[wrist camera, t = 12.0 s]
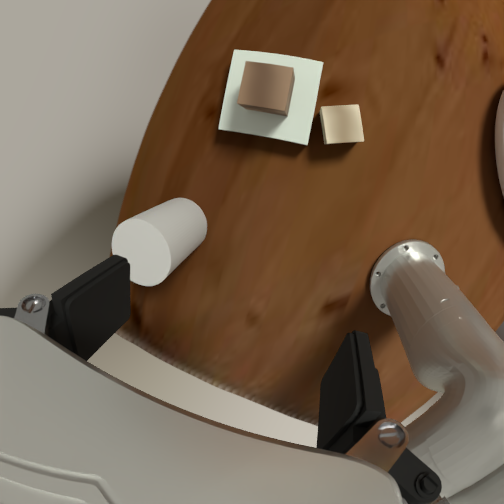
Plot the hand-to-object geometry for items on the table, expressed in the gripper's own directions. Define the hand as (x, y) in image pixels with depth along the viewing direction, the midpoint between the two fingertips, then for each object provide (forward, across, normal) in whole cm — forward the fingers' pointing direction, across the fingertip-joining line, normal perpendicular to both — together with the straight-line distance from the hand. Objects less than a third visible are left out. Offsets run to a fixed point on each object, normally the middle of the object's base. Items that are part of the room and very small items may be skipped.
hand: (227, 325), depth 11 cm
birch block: (+28, -4, -12) cm, 31 cm away
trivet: (+28, +5, -13) cm, 31 cm away
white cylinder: (+28, +14, +7) cm, 32 cm away
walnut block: (+25, +5, -13) cm, 29 cm away
